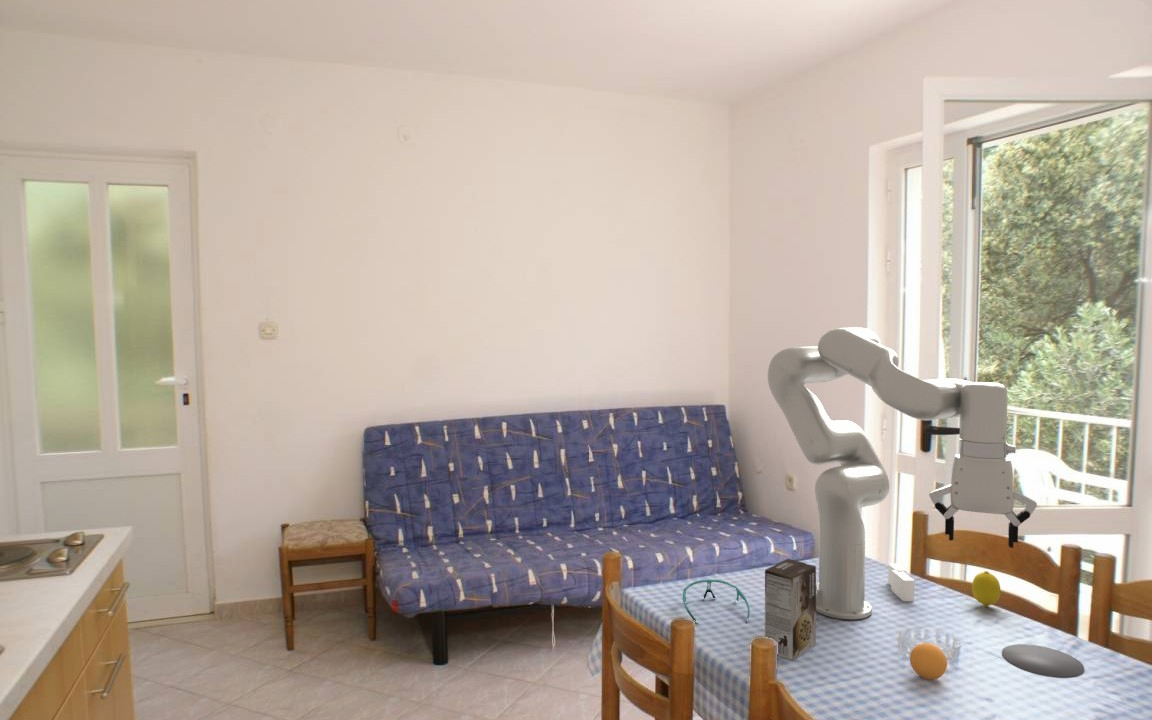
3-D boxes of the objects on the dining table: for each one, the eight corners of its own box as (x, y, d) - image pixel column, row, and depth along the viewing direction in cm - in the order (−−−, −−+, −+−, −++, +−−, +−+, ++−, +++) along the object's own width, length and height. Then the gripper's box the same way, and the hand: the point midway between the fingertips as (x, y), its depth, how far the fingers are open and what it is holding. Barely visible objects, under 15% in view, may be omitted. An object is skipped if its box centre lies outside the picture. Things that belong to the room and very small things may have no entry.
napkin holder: (919, 609, 165) (919, 583, 165) (867, 597, 172) (867, 573, 172) (936, 589, 177) (936, 566, 176) (886, 579, 184) (887, 556, 183)
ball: (910, 682, 131) (911, 649, 130) (908, 667, 136) (908, 635, 136) (948, 688, 129) (949, 654, 128) (944, 672, 134) (945, 640, 134)
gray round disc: (1008, 670, 135) (1009, 669, 135) (996, 641, 147) (996, 640, 147) (1093, 682, 130) (1093, 681, 130) (1073, 651, 142) (1073, 650, 142)
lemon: (1003, 612, 161) (1004, 576, 161) (976, 610, 162) (977, 574, 162) (995, 603, 167) (995, 567, 166) (968, 601, 168) (968, 566, 167)
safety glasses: (738, 598, 171) (739, 578, 171) (755, 632, 157) (756, 610, 156) (677, 599, 171) (678, 579, 170) (689, 633, 156) (690, 611, 155)
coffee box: (787, 636, 150) (787, 557, 149) (817, 646, 145) (817, 565, 145) (763, 650, 144) (763, 568, 143) (793, 661, 139) (793, 576, 138)
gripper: (1036, 450, 135) (1034, 543, 136) (931, 443, 143) (929, 531, 144) (1039, 457, 128) (1037, 554, 129) (929, 449, 137) (927, 541, 138)
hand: (980, 542), depth 137 cm, fingers open, 9 cm apart
